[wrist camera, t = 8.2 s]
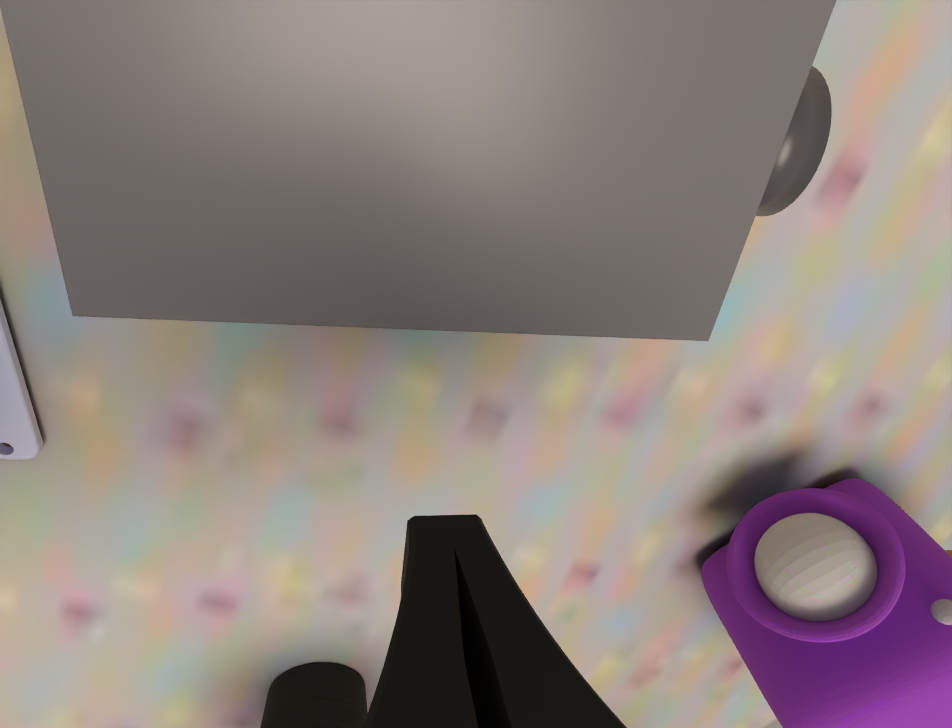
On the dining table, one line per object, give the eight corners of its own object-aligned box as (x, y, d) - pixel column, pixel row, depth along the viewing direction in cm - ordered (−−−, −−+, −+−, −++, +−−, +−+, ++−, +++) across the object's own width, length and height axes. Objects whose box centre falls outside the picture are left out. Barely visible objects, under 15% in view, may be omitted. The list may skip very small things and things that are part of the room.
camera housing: (139, 238, 18) (72, 315, 14) (67, -218, 13) (-75, -314, 9) (681, 272, 22) (758, 343, 17) (794, -72, 16) (942, -90, 12)
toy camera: (807, 404, 26) (1018, 604, 18) (928, 527, 32) (1125, 716, 24) (621, 551, 29) (725, 778, 21) (764, 637, 36) (888, 838, 27)
